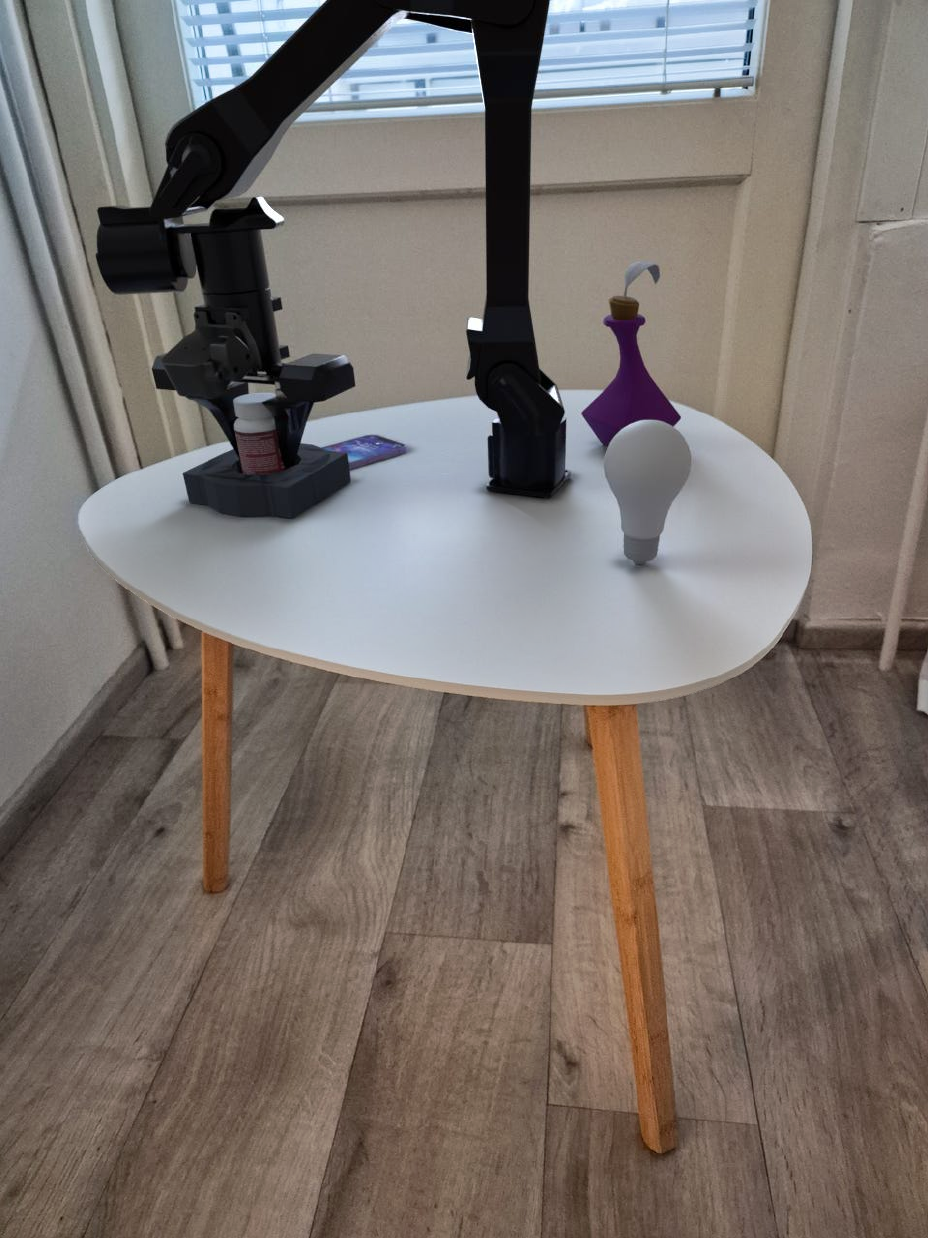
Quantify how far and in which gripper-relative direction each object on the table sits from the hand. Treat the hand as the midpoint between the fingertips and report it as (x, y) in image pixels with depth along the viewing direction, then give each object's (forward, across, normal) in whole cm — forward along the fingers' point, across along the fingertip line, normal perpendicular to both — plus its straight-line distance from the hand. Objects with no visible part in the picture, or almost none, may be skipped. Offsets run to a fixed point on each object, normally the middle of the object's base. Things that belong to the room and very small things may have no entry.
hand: (267, 464), depth 76 cm
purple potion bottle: (+3, +29, +24) cm, 38 cm away
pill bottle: (+2, 0, 0) cm, 2 cm away
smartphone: (+3, +1, +10) cm, 11 cm away
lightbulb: (+3, +37, -3) cm, 37 cm away
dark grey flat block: (+3, 0, 0) cm, 3 cm away
